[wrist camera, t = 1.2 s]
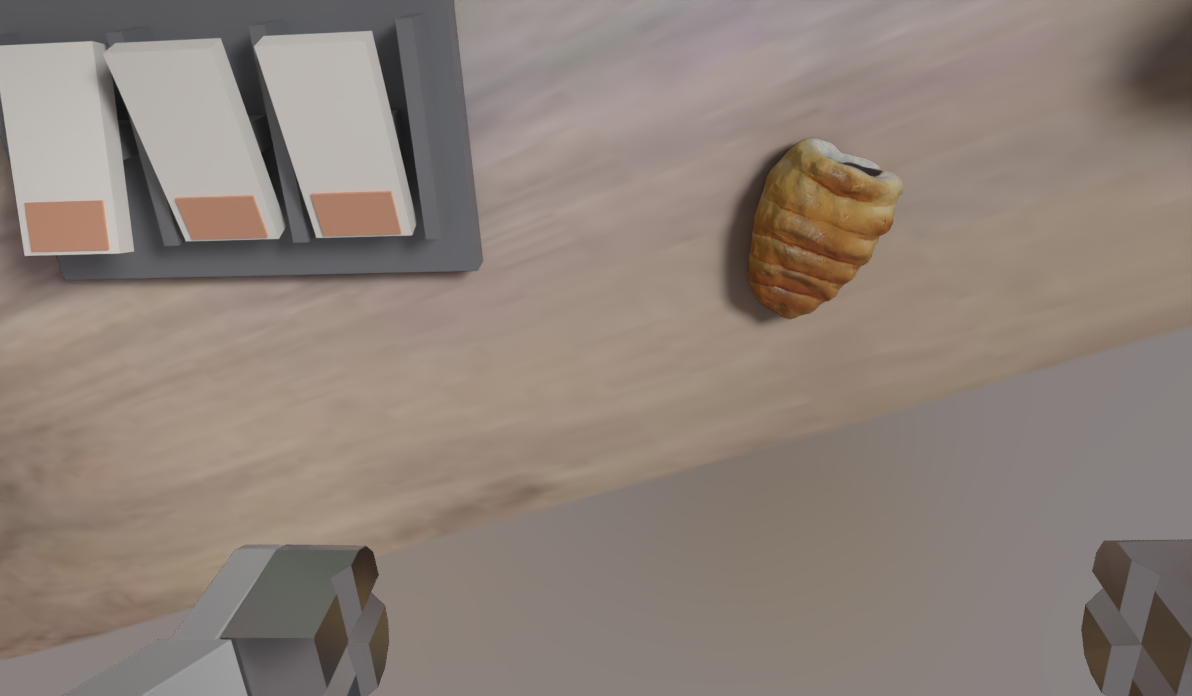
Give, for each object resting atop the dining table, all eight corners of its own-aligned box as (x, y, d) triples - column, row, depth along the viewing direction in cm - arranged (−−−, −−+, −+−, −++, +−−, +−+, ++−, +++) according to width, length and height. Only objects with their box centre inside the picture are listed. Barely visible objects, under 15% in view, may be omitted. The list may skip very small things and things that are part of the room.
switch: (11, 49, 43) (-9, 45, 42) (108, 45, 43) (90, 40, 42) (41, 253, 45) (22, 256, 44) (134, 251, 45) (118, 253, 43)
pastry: (827, 322, 50) (838, 351, 47) (716, 282, 50) (719, 309, 46) (906, 168, 46) (924, 187, 43) (785, 123, 45) (794, 139, 42)
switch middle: (115, 42, 40) (101, 54, 39) (220, 38, 40) (209, 49, 39) (195, 228, 47) (184, 242, 46) (286, 226, 46) (277, 240, 45)
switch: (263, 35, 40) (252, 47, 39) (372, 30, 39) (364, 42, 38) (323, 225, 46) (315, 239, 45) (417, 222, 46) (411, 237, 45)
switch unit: (-76, -210, 41) (-146, -222, 38) (425, -248, 39) (401, -265, 36) (80, 270, 52) (36, 296, 48) (482, 261, 50) (468, 287, 46)
